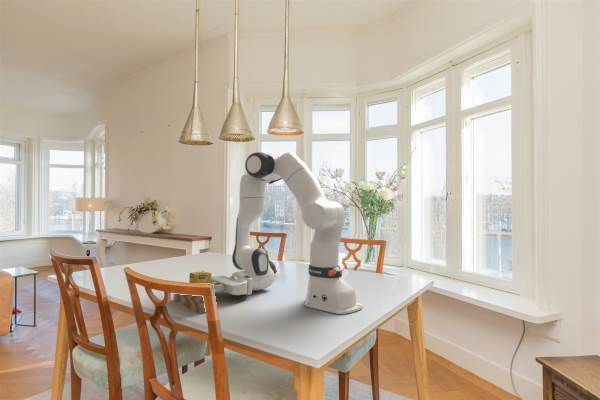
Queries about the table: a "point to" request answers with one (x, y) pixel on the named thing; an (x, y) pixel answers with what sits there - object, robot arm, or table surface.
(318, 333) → the table surface
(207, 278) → the supplement box
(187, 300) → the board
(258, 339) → the table surface
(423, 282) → the table surface
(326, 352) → the table surface
